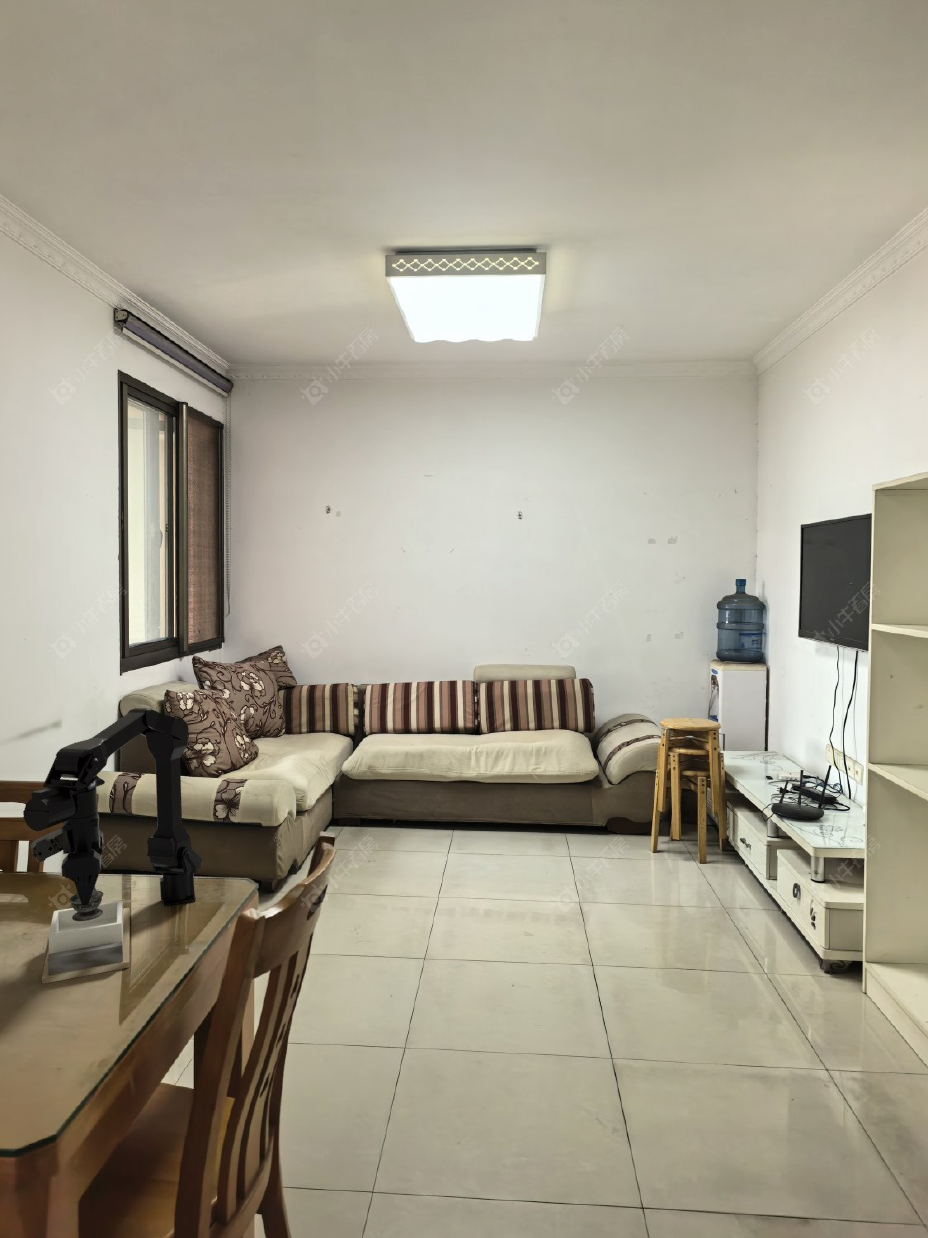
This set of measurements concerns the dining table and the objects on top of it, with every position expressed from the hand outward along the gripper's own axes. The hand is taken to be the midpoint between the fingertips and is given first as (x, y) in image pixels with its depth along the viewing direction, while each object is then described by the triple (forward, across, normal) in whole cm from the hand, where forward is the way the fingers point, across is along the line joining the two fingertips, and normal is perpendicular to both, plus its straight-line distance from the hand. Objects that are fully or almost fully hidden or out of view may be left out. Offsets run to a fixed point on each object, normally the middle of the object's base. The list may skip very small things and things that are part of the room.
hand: (86, 896), depth 156 cm
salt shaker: (+4, 0, 0) cm, 4 cm away
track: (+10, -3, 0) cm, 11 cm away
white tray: (+9, 0, 0) cm, 9 cm away
